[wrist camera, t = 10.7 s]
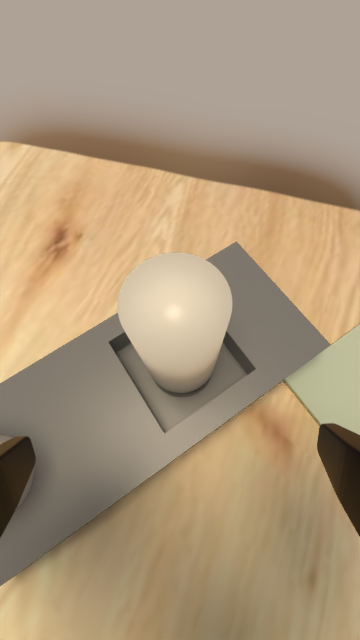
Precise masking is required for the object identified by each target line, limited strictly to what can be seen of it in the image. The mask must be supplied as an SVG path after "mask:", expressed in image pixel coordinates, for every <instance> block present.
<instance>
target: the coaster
mask: <svg viewBox="0 0 360 640" xmlns="http://www.w3.org/2000/svg"><path fill="white" fill-rule="evenodd" d="M283 381H284V382H285V383H286V384H287V386H288V387H289V388H290V389H291V391H292V392H293V393H294V394H295V395H296V397H297V398H298V399H299V400H300V402H301V403H302V404H303V405H304V407H305V408H306V409H307V410H308V412H309V413H310V414H311V415H312V417H313V418H314V419H315V420H316V422H317V423H318V424H319V425H321V424H323V423H335V424H337V425H339V426H342V427H344V428H346V429H348V430H350V431H352V432H354V433H357V434H359V435H360V324H359V325H358V326H356V327H355V328H354V329H352V330H351V331H350V332H348V333H347V334H346V335H344V336H343V337H341V338H340V339H339V340H337V341H336V342H335V343H333V344H332V345H330V346H329V347H328V348H326V349H325V350H324V351H322V352H321V353H319V354H318V355H317V356H315V357H314V358H313V359H311V360H310V361H309V362H307V363H306V364H304V365H303V366H302V367H300V368H299V369H298V370H296V371H295V372H293V373H292V374H291V375H289V376H288V377H287V378H285V379H284V380H283Z"/></svg>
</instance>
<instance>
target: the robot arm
mask: <svg viewBox="0 0 360 640" xmlns="http://www.w3.org/2000/svg"><path fill="white" fill-rule="evenodd" d="M317 449H318V453H319V456H320V458H321V460H322V463H323V465H324V467H325V470H326V472H327V474H328V477H329V479H330V481H331V484H332V486H333V488H334V491H335V493H336V495H337V497H338V499H339V501H340V503H341V504H342V506H343V508H344V510H345V512H346V513H347V515H348V517H349V519H350V520H351V522H352V524H353V526H354V527H355V529H356V531H357V533H358V535H359V536H360V435H359V434H357V433H354V432H352V431H350V430H348V429H346V428H344V427H342V426H339V425H337V424H335V423H323V424H321V425H320V428H319V435H318V442H317ZM35 462H36V456H35V452H34V449H33V445H32V442H31V439H30V437H28V436H16V437H14V438H12V439H10V440H8V441H6V442H4V443H2V444H0V538H1V536H2V534H3V533H4V531H5V529H6V527H7V525H8V523H9V522H10V520H11V518H12V516H13V514H14V512H15V510H16V508H17V506H18V504H19V502H20V499H21V497H22V494H23V492H24V490H25V487H26V485H27V482H28V480H29V478H30V475H31V473H32V470H33V468H34V466H35Z"/></svg>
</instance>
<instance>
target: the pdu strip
mask: <svg viewBox="0 0 360 640" xmlns="http://www.w3.org/2000/svg"><path fill="white" fill-rule="evenodd" d="M207 261H208V262H210V263H211V264H212V265H214V266H215V267H216V268H217V269H218V270H219V271H220V272H221V273H222V275H223V276H224V277H225V279H226V281H227V283H228V285H229V287H230V290H231V295H232V313H231V317H230V321H229V324H228V327H227V330H226V333H225V336H224V339H223V342H222V345H221V349H220V352H219V355H218V358H217V361H216V364H215V367H214V370H213V374H212V376H211V379H210V381H209V383H208V384H207V385H206V386H205V388H204V389H202V390H201V391H200V392H198V393H197V394H194V395H192V396H188V397H175V396H172V395H169V394H167V393H165V392H164V391H162V390H161V389H160V388H159V387H158V386H157V385H156V383H155V382H154V380H153V378H152V377H151V375H150V373H149V371H148V370H147V368H146V366H145V365H144V363H143V361H142V360H141V358H140V356H139V355H138V353H137V351H136V350H135V348H134V346H133V344H132V343H131V341H130V339H129V338H128V336H127V334H126V333H125V331H124V329H123V327H122V325H121V323H120V320H119V316H118V313H117V314H115V315H113V316H112V317H110V318H108V319H107V320H105V321H103V322H102V323H100V324H98V325H97V326H95V327H93V328H92V329H90V330H88V331H87V332H85V333H83V334H82V335H80V336H78V337H77V338H75V339H73V340H72V341H70V342H68V343H67V344H65V345H63V346H62V347H60V348H58V349H57V350H55V351H53V352H52V353H50V354H48V355H47V356H45V357H43V358H42V359H40V360H38V361H37V362H35V363H33V364H32V365H30V366H29V367H27V368H25V369H24V370H22V371H20V372H19V373H17V374H15V375H14V376H12V377H10V378H9V379H7V380H5V381H4V382H2V383H0V444H2V443H4V442H6V441H8V440H10V439H12V438H14V437H16V436H28V437H30V439H31V442H32V445H33V449H34V452H35V456H36V462H35V466H34V468H33V470H32V473H31V475H30V478H29V480H28V482H27V485H26V487H25V490H24V492H23V494H22V497H21V499H20V502H19V504H18V506H17V508H16V510H15V512H14V514H13V516H12V518H11V520H10V522H9V523H8V525H7V527H6V529H5V531H4V533H3V534H2V536H1V538H0V586H1V585H3V584H4V583H6V582H7V581H8V580H10V579H11V578H12V577H14V576H15V575H17V574H18V573H19V572H21V571H22V570H23V569H25V568H26V567H28V566H29V565H30V564H32V563H33V562H34V561H36V560H37V559H39V558H40V557H41V556H43V555H44V554H45V553H47V552H48V551H49V550H51V549H52V548H54V547H55V546H56V545H58V544H59V543H60V542H62V541H63V540H65V539H66V538H67V537H69V536H70V535H71V534H73V533H74V532H76V531H77V530H78V529H80V528H81V527H82V526H84V525H85V524H86V523H88V522H89V521H91V520H92V519H93V518H95V517H96V516H97V515H99V514H100V513H102V512H103V511H104V510H106V509H107V508H108V507H110V506H111V505H113V504H114V503H115V502H117V501H118V500H119V499H121V498H122V497H123V496H125V495H126V494H128V493H129V492H130V491H132V490H133V489H134V488H136V487H137V486H139V485H140V484H141V483H143V482H144V481H145V480H147V479H148V478H150V477H151V476H152V475H154V474H155V473H156V472H158V471H159V470H160V469H162V468H163V467H165V466H166V465H167V464H169V463H170V462H171V461H173V460H174V459H176V458H177V457H178V456H180V455H181V454H182V453H184V452H185V451H187V450H188V449H189V448H191V447H192V446H193V445H195V444H196V443H198V442H199V441H200V440H202V439H203V438H204V437H206V436H207V435H208V434H210V433H211V432H213V431H214V430H215V429H217V428H218V427H219V426H221V425H222V424H224V423H225V422H226V421H228V420H229V419H230V418H232V417H233V416H235V415H236V414H237V413H239V412H240V411H241V410H243V409H244V408H245V407H247V406H248V405H250V404H251V403H252V402H254V401H255V400H256V399H258V398H259V397H261V396H262V395H263V394H265V393H266V392H267V391H269V390H270V389H272V388H273V387H274V386H276V385H277V384H278V383H280V382H281V381H282V380H284V379H285V378H287V377H288V376H289V375H291V374H292V373H293V372H295V371H296V370H298V369H299V368H300V367H302V366H303V365H304V364H306V363H307V362H309V361H310V360H311V359H313V358H314V357H315V356H317V355H318V354H319V353H321V352H322V351H324V350H325V349H326V348H328V347H329V346H330V344H329V342H328V341H327V340H326V339H325V338H324V337H323V336H322V335H321V334H320V333H319V332H318V330H317V329H316V328H315V327H314V326H313V325H312V324H311V323H310V322H309V321H308V319H307V318H306V317H305V316H304V315H303V314H302V313H301V312H300V311H299V310H298V308H297V307H296V306H295V305H294V304H293V303H292V302H291V301H290V300H289V299H288V297H287V296H286V295H285V294H284V293H283V292H282V291H281V290H280V289H279V288H278V286H277V285H276V284H275V283H274V282H273V281H272V280H271V279H270V278H269V277H268V276H267V274H266V273H265V272H264V271H263V270H262V269H261V268H260V267H259V266H258V265H257V263H256V262H255V261H254V260H253V259H252V258H251V257H250V256H249V255H248V254H247V252H246V251H245V250H244V249H243V248H242V247H241V246H240V245H239V244H238V243H237V242H235V243H233V244H232V245H230V246H228V247H227V248H225V249H223V250H222V251H220V252H218V253H217V254H215V255H213V256H212V257H210V258H208V259H207Z"/></svg>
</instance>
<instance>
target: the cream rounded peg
mask: <svg viewBox="0 0 360 640" xmlns="http://www.w3.org/2000/svg"><path fill="white" fill-rule="evenodd" d="M117 308H118V316H119V320H120V323H121V325H122V327H123V329H124V331H125V333H126V334H127V336H128V338H129V339H130V341H131V343H132V344H133V346H134V348H135V350H136V351H137V353H138V355H139V356H140V358H141V360H142V361H143V363H144V365H145V366H146V368H147V370H148V371H149V373H150V375H151V377H152V378H153V380H154V382H155V383H156V385H157V386H158V387H159V388H160V389H161V390H162V391H164V392H165V393H167V394H169V395H172V396H175V397H188V396H192V395H194V394H197V393H198V392H200V391H201V390H202V389H204V388H205V386H206V385H207V384H208V383H209V381H210V379H211V376H212V374H213V370H214V367H215V364H216V361H217V358H218V355H219V352H220V349H221V345H222V342H223V339H224V336H225V333H226V330H227V327H228V324H229V321H230V317H231V313H232V295H231V290H230V287H229V285H228V283H227V281H226V279H225V277H224V276H223V275H222V273H221V272H220V271H219V270H218V269H217V268H216V267H215V266H214V265H212V264H211V263H210V262H208V261H207V260H205V259H203V258H201V257H198V256H195V255H192V254H188V253H179V252H173V253H164V254H160V255H156V256H154V257H151V258H149V259H147V260H145V261H143V262H142V263H141V264H139V265H138V266H137V267H135V268H134V269H133V270H132V271H131V272H130V274H129V275H128V276H127V278H126V279H125V280H124V282H123V284H122V286H121V289H120V292H119V296H118V304H117Z"/></svg>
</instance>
